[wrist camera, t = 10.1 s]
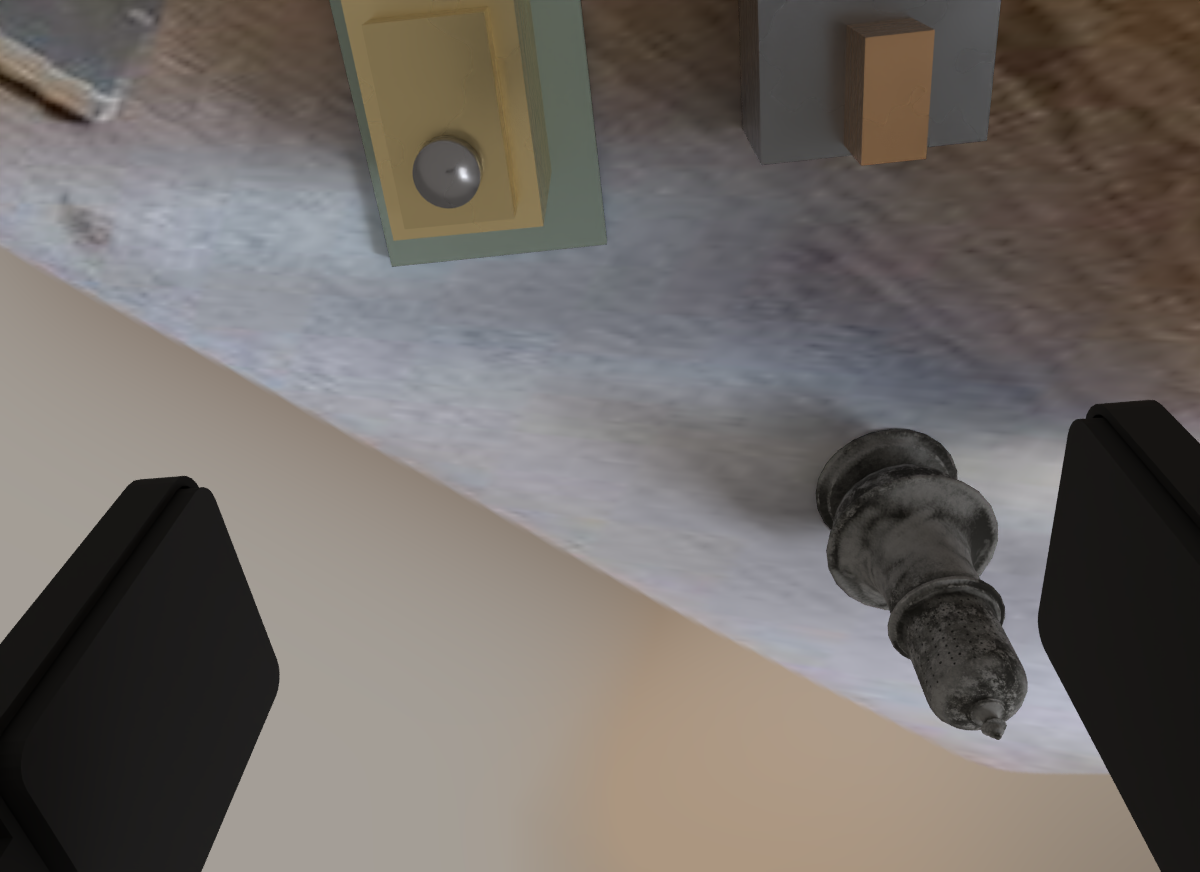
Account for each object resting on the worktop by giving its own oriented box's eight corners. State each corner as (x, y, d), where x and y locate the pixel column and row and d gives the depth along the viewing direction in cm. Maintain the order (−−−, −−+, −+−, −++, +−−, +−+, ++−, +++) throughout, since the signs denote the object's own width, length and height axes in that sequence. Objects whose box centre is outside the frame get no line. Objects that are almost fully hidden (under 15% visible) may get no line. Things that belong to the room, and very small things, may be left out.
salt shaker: (775, 496, 36) (845, 747, 26) (893, 392, 34) (1020, 624, 24) (878, 573, 38) (980, 835, 28) (997, 480, 36) (1155, 729, 26)
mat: (567, -115, 26) (567, -115, 25) (606, 238, 31) (606, 244, 31) (315, -83, 26) (309, -82, 26) (395, 260, 31) (391, 267, 31)
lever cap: (524, -45, 26) (504, -18, 21) (551, 172, 29) (540, 247, 24) (381, -29, 26) (322, 2, 21) (423, 185, 30) (381, 262, 24)
